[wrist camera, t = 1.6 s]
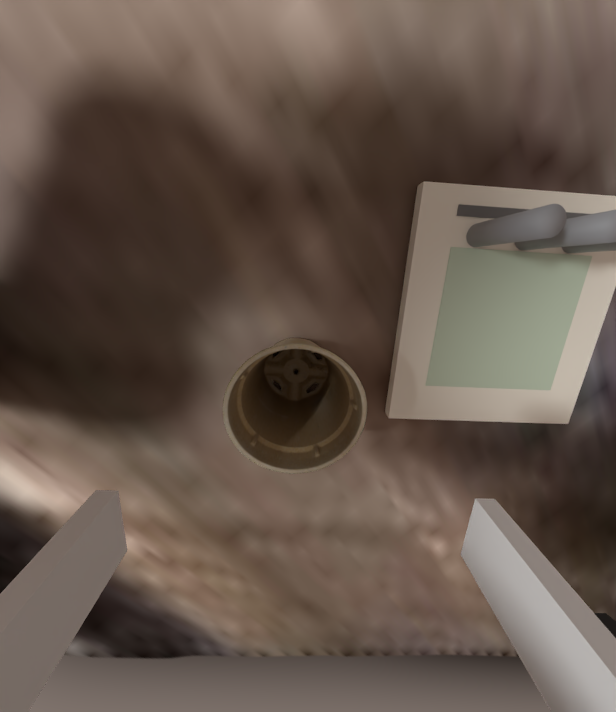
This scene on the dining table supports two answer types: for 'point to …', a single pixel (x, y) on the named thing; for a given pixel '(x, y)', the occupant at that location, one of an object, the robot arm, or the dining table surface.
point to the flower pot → (294, 408)
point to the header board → (501, 303)
